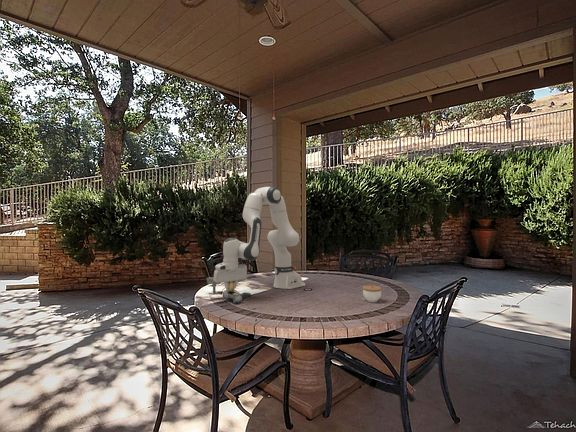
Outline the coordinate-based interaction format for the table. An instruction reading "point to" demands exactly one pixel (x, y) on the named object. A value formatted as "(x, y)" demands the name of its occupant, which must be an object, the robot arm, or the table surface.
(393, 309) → the table surface
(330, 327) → the table surface
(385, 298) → the table surface
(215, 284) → the mechanical component
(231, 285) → the brass pin
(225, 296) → the chain ends
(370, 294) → the lidded jar
